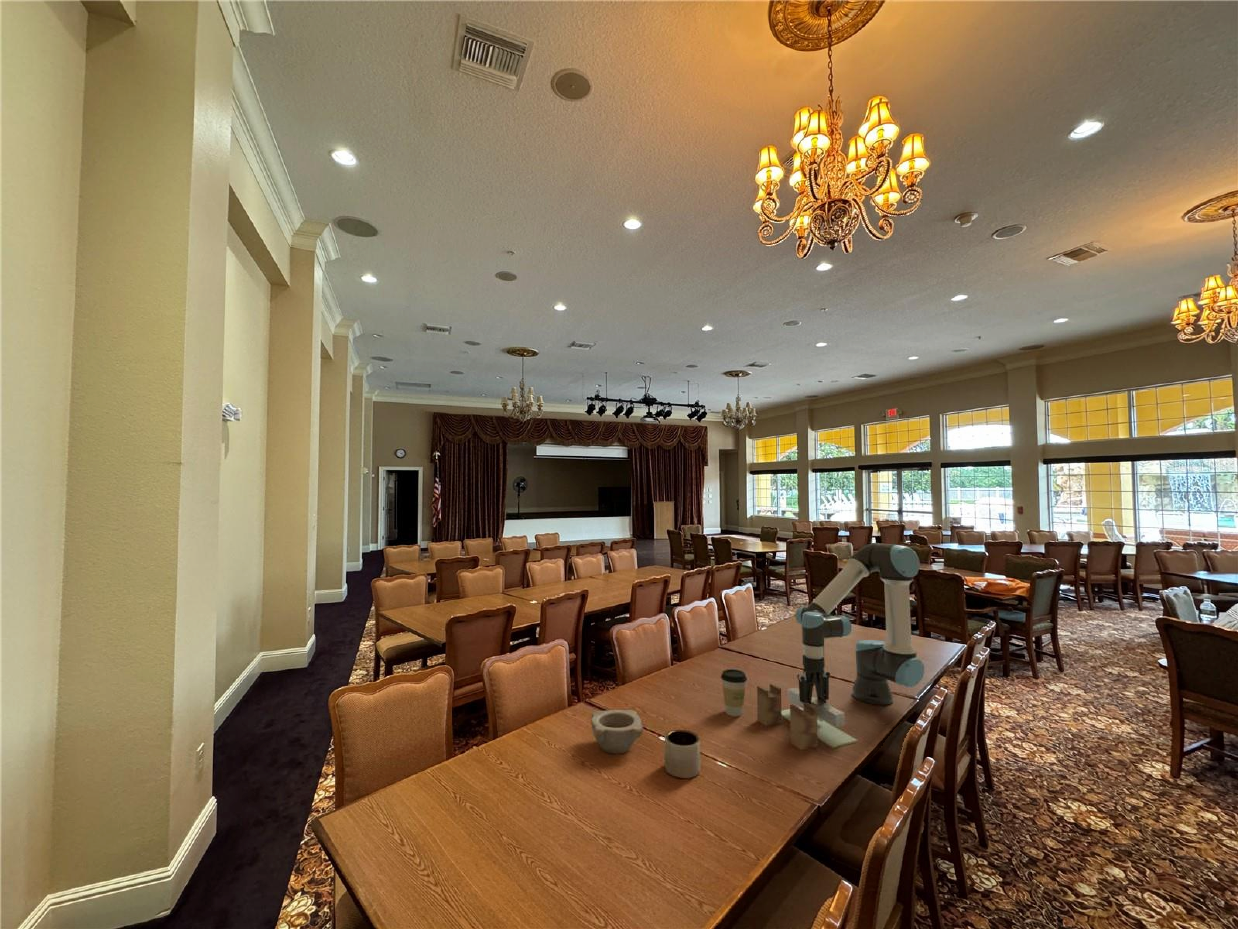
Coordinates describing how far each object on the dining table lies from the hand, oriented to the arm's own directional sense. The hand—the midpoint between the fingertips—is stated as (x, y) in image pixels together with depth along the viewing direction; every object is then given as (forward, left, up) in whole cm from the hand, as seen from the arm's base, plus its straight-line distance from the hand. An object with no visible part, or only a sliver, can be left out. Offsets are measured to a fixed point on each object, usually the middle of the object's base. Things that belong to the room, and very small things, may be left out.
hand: (814, 721), depth 178 cm
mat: (0, 0, -2) cm, 2 cm away
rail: (0, 0, +3) cm, 3 cm away
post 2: (+13, +9, -2) cm, 16 cm away
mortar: (+73, -12, -2) cm, 74 cm away
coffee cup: (+21, -20, -2) cm, 29 cm away
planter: (+59, +8, -2) cm, 60 cm away
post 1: (+13, -9, -2) cm, 16 cm away
